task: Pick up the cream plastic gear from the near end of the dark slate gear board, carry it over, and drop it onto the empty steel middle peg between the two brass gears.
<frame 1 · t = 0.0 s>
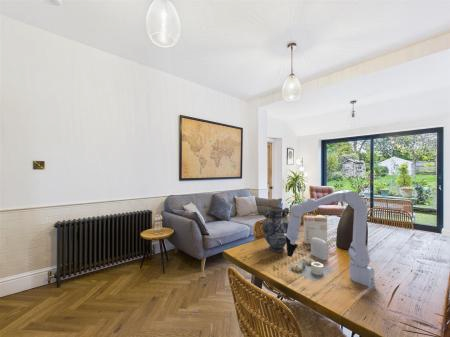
hand: (289, 253, 106), 11 cm above the table, tool pointing down, fingers open, 7 cm apart
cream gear: (317, 272, 104), point 1 cm above the table, touching gear board
decorative vase: (276, 249, 138), on the table
coffeecake box: (315, 243, 151), on the table
photo printer: (319, 259, 123), on the table
gear board: (309, 272, 107), on the table
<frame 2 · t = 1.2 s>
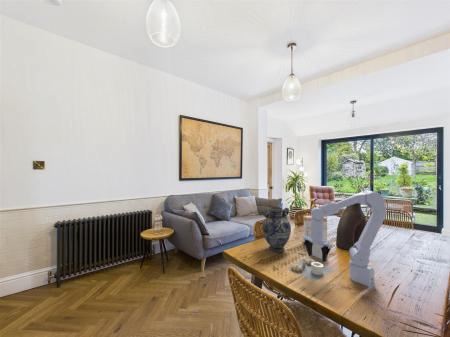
hand: (317, 258, 104), 9 cm above the table, tool pointing down, fingers open, 7 cm apart
nothing on the table moved.
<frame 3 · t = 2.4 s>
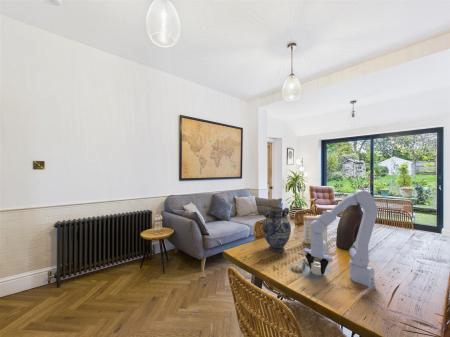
hand: (317, 271, 104), 2 cm above the table, tool pointing down, fingers closed on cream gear, 5 cm apart
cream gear: (317, 272, 104), point 2 cm above the table, touching gear board, gripper
everything else where it was.
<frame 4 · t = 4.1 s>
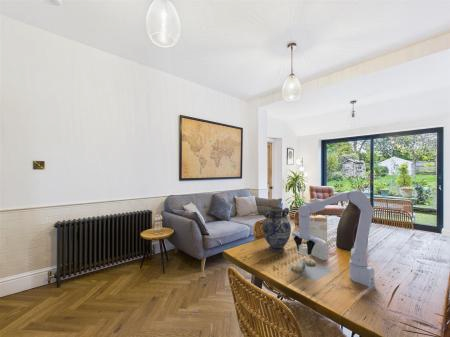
hand: (304, 252, 110), 9 cm above the table, tool pointing down, fingers closed on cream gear, 5 cm apart
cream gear: (304, 253, 110), point 9 cm above the table, touching gripper
everything else where it was.
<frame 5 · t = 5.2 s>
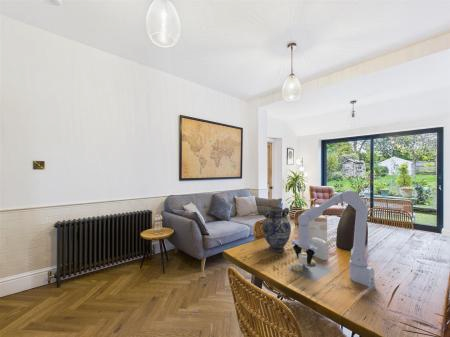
hand: (303, 261, 110), 4 cm above the table, tool pointing down, fingers closed on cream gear, 5 cm apart
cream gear: (303, 262, 110), point 4 cm above the table, touching gripper
everything else where it was.
when the fingers open (3 cm above the table, at t = 6.1 s): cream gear drops 1 cm, resting on gear board.
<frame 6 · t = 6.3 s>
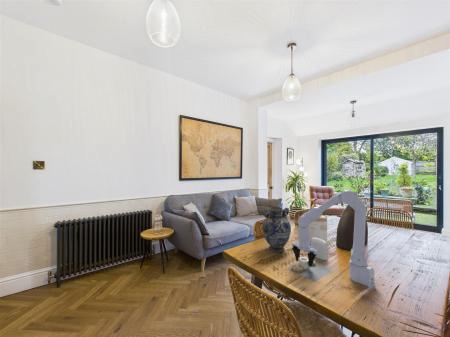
hand: (304, 263, 110), 3 cm above the table, tool pointing down, fingers open, 7 cm apart
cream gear: (303, 266, 110), point 1 cm above the table, touching gear board
everything else where it was.
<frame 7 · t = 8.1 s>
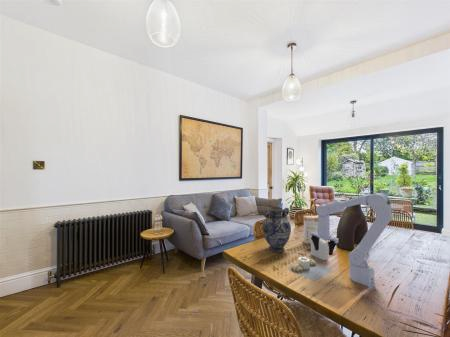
hand: (323, 252, 110), 9 cm above the table, tool pointing down, fingers open, 7 cm apart
nothing on the table moved.
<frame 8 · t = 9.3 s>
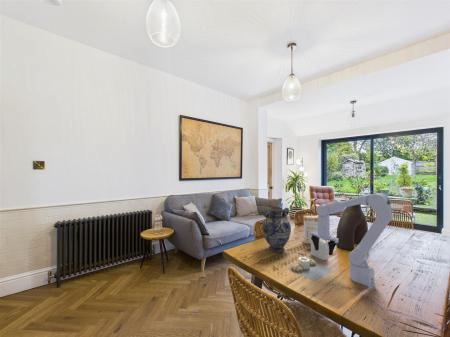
hand: (323, 252, 110), 9 cm above the table, tool pointing down, fingers open, 7 cm apart
nothing on the table moved.
at the end: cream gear 0.0 cm from the target spot on the gear board, point 1.5 cm above the gear board's base; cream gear tilted 0°; the gripper is holding nothing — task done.
